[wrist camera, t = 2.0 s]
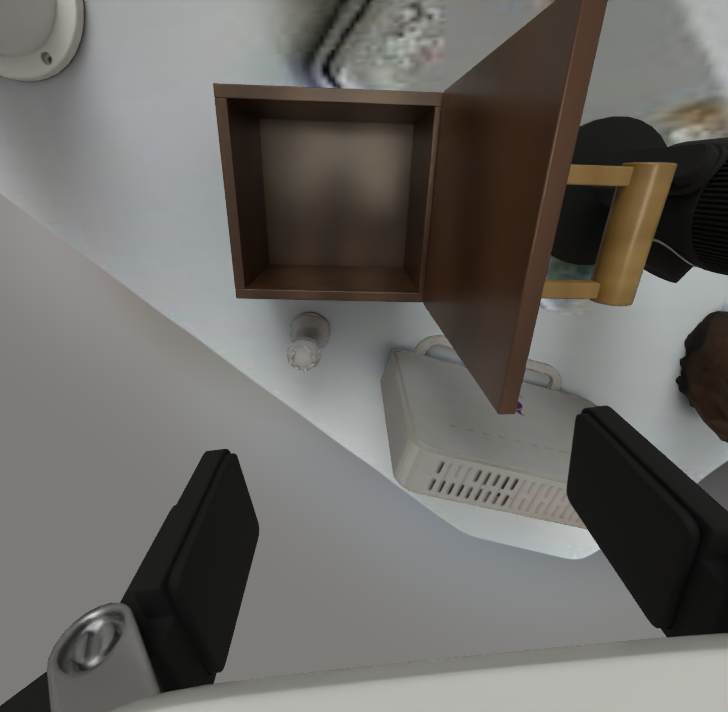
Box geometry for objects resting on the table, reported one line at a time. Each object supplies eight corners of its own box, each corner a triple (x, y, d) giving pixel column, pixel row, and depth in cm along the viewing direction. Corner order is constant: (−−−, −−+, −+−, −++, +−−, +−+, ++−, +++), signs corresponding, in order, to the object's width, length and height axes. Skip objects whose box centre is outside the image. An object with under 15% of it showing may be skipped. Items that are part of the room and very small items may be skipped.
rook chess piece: (310, 303, 43) (301, 328, 36) (338, 330, 45) (335, 360, 37) (282, 329, 44) (269, 359, 37) (311, 355, 46) (303, 388, 39)
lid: (497, 415, 17) (629, 414, 17) (587, -27, 11) (785, -13, 11) (423, 304, 32) (494, 305, 32) (443, 91, 26) (531, 95, 26)
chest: (263, 270, 42) (236, 298, 32) (251, 109, 36) (212, 83, 26) (409, 273, 42) (427, 302, 32) (422, 116, 36) (447, 92, 26)
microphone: (501, 224, 40) (696, 283, 17) (591, 86, 35) (1020, -79, 13) (599, 285, 43) (874, 405, 20) (694, 166, 38) (1191, 148, 16)
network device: (591, 376, 48) (738, 497, 30) (557, 433, 51) (670, 573, 33) (394, 322, 44) (423, 422, 26) (371, 387, 48) (383, 515, 30)
